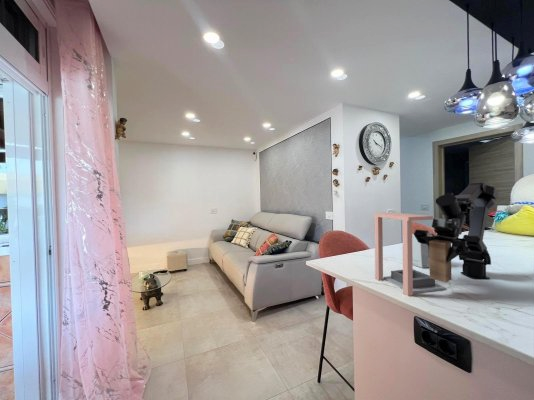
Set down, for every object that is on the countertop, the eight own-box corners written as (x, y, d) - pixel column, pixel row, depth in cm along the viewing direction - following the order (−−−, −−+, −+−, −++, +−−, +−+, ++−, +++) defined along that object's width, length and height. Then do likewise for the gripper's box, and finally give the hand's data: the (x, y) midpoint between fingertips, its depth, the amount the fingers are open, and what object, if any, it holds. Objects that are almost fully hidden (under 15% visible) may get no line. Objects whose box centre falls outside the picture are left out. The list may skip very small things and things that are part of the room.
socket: (411, 275, 91) (411, 266, 91) (445, 289, 77) (445, 279, 77) (383, 278, 88) (383, 269, 88) (412, 293, 75) (412, 283, 74)
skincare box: (431, 267, 101) (431, 236, 101) (421, 268, 100) (421, 236, 99) (415, 262, 109) (415, 233, 109) (405, 263, 108) (405, 233, 108)
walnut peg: (435, 275, 77) (435, 239, 76) (451, 279, 73) (451, 241, 72) (429, 278, 74) (429, 241, 74) (445, 282, 70) (445, 243, 70)
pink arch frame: (395, 275, 91) (394, 212, 91) (433, 293, 74) (432, 216, 74) (374, 278, 89) (373, 213, 89) (409, 296, 72) (408, 217, 72)
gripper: (415, 208, 83) (400, 240, 78) (481, 211, 67) (467, 251, 62) (425, 226, 87) (411, 258, 82) (489, 233, 71) (477, 272, 66)
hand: (438, 259), depth 73 cm, fingers closed on walnut peg, 4 cm apart
